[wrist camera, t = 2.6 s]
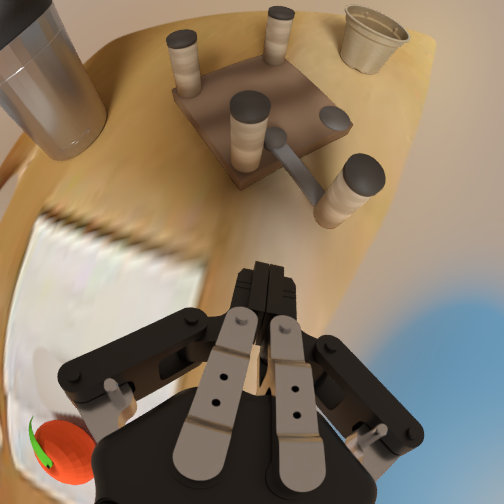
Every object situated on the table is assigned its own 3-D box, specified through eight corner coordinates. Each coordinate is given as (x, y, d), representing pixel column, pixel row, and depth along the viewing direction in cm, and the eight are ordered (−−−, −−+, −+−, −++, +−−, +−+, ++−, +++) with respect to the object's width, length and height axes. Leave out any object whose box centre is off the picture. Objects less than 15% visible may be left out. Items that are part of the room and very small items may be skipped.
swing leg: (255, 141, 23) (263, 82, 16) (279, 130, 24) (294, 72, 16) (325, 235, 22) (365, 200, 15) (348, 219, 22) (393, 181, 15)
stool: (174, 100, 27) (159, 36, 18) (275, 61, 29) (285, 4, 20) (241, 192, 25) (245, 129, 16) (349, 135, 27) (384, 78, 18)
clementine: (41, 415, 19) (3, 432, 12) (74, 393, 20) (32, 411, 13) (85, 472, 18) (56, 501, 11) (123, 457, 19) (95, 491, 12)
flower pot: (350, 39, 32) (365, 1, 24) (396, 72, 31) (419, 36, 23) (317, 52, 30) (331, 7, 22) (370, 90, 29) (395, 46, 21)
